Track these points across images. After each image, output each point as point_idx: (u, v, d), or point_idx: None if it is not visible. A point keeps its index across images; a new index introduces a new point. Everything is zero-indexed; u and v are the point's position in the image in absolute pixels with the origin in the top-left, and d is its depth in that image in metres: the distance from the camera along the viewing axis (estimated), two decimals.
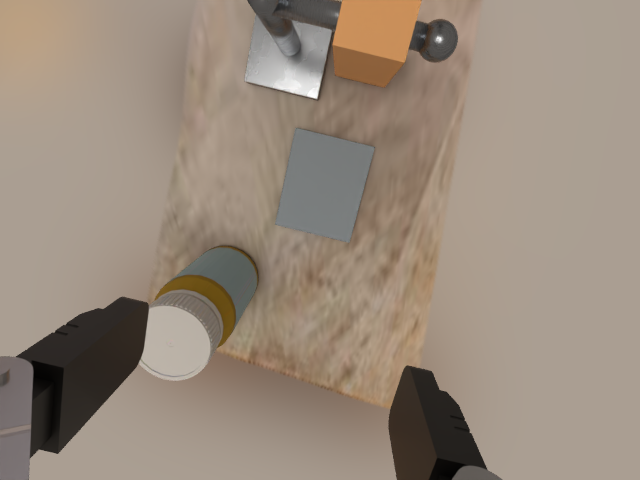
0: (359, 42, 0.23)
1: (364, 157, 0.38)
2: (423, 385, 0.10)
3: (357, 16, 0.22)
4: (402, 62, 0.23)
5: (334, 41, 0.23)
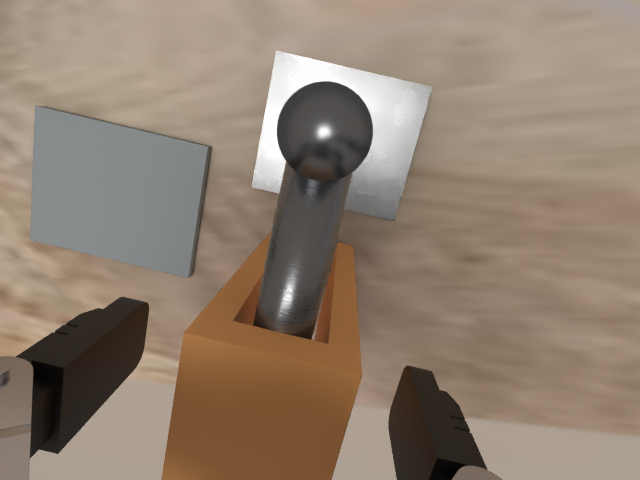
0: (194, 396, 0.09)
1: (170, 262, 0.23)
2: (423, 385, 0.10)
3: (253, 392, 0.09)
4: None
5: (191, 338, 0.08)
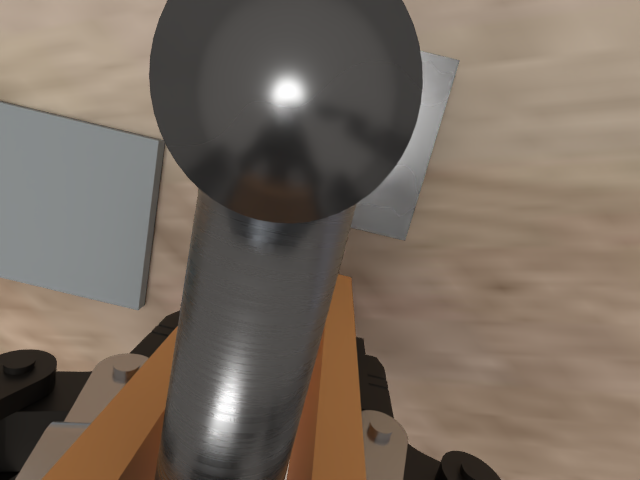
0: None
1: (114, 290, 0.18)
2: None
3: None
4: None
5: None
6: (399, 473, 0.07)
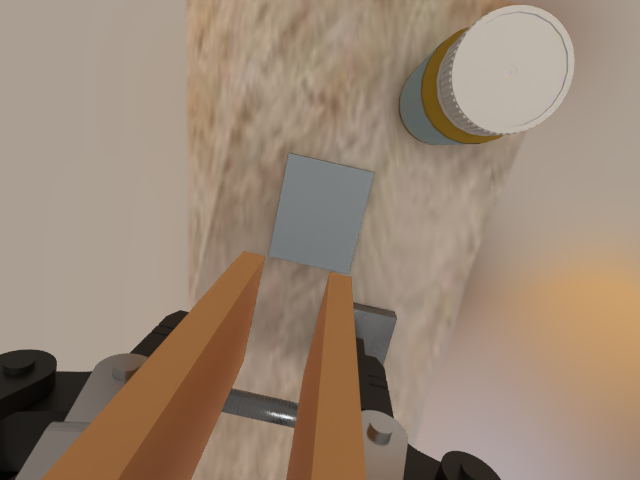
0: None
1: (278, 246, 0.37)
2: None
3: None
4: None
5: None
6: (399, 473, 0.07)
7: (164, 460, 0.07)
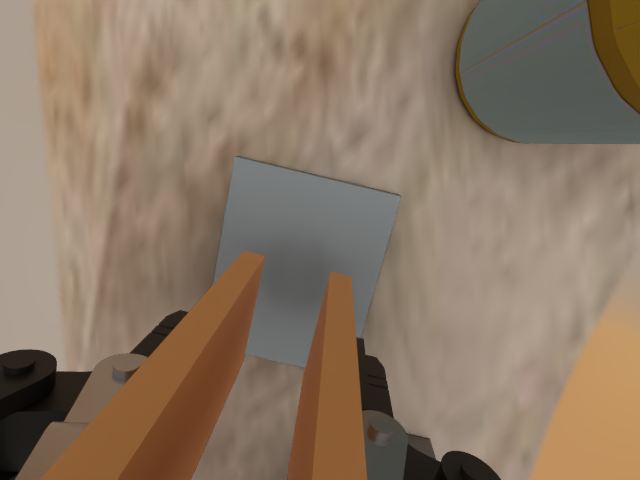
0: None
1: None
2: None
3: None
4: None
5: None
6: (399, 473, 0.07)
7: (165, 458, 0.07)
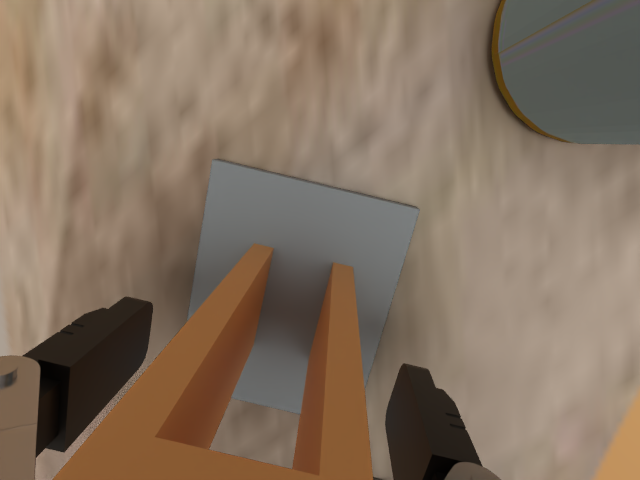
0: None
1: None
2: (419, 383, 0.10)
3: None
4: None
5: None
6: None
7: (197, 412, 0.08)
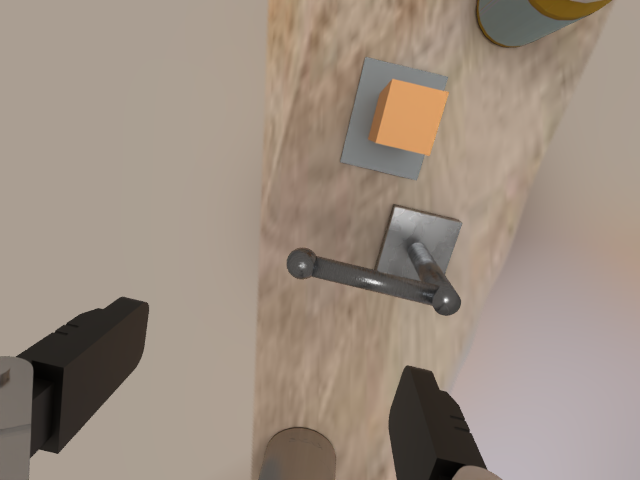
0: (392, 103, 0.27)
1: (350, 151, 0.39)
2: (423, 385, 0.10)
3: (412, 100, 0.27)
4: (376, 141, 0.28)
5: (394, 80, 0.27)
6: None
7: None
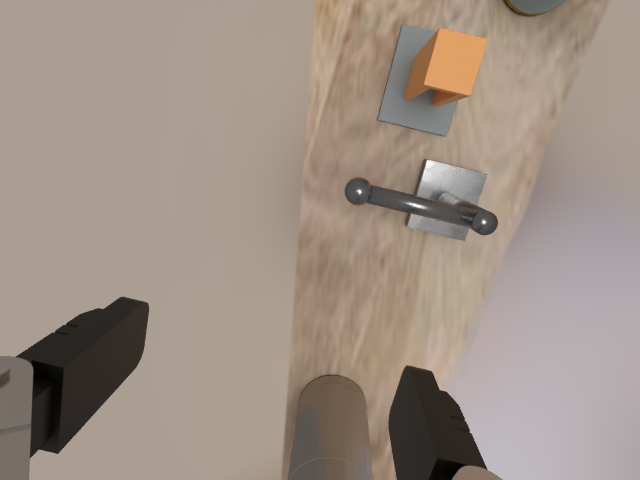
0: (439, 49, 0.31)
1: (387, 110, 0.43)
2: (423, 385, 0.10)
3: (456, 46, 0.31)
4: (423, 83, 0.32)
5: (441, 29, 0.31)
6: None
7: None
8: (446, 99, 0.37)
